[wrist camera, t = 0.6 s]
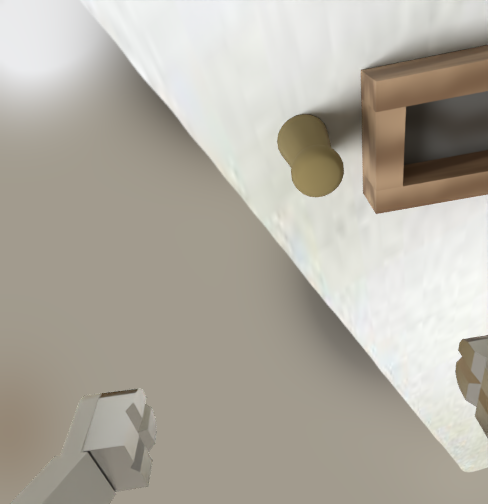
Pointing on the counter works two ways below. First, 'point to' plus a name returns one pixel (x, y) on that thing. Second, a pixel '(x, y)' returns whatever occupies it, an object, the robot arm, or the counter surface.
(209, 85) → the counter surface
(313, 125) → the cork
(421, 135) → the well block
